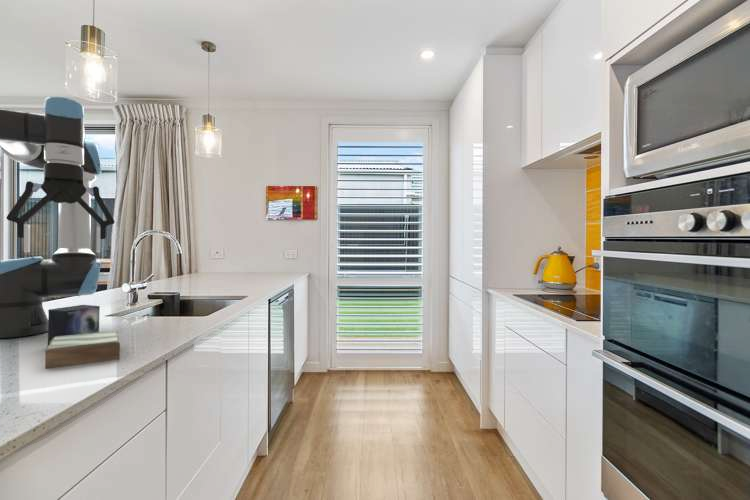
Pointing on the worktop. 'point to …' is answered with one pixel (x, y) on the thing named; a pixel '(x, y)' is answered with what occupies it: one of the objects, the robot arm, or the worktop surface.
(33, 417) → the worktop surface
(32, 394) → the worktop surface
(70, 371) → the worktop surface
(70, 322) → the small box
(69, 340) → the base block
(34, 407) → the worktop surface
